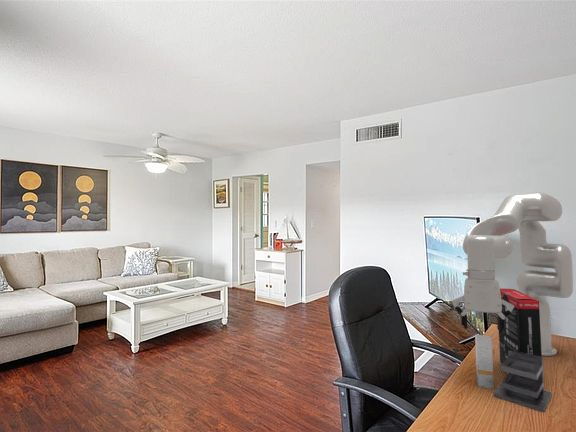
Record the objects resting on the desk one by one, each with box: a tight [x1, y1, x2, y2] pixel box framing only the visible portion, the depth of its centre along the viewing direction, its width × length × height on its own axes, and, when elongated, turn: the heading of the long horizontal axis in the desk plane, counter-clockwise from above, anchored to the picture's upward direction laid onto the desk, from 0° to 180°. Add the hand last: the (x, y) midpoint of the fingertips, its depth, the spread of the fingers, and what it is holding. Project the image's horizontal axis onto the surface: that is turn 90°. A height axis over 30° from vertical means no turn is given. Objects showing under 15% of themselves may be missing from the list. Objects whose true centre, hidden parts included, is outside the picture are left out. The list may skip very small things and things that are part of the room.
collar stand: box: [493, 350, 553, 413], centre depth 98 cm, size 12×12×11 cm
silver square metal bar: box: [474, 334, 494, 389], centre depth 106 cm, size 4×4×15 cm
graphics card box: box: [497, 287, 543, 365], centre depth 113 cm, size 17×7×27 cm, turn 168°
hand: (482, 329), depth 106 cm, fingers open, 9 cm apart
